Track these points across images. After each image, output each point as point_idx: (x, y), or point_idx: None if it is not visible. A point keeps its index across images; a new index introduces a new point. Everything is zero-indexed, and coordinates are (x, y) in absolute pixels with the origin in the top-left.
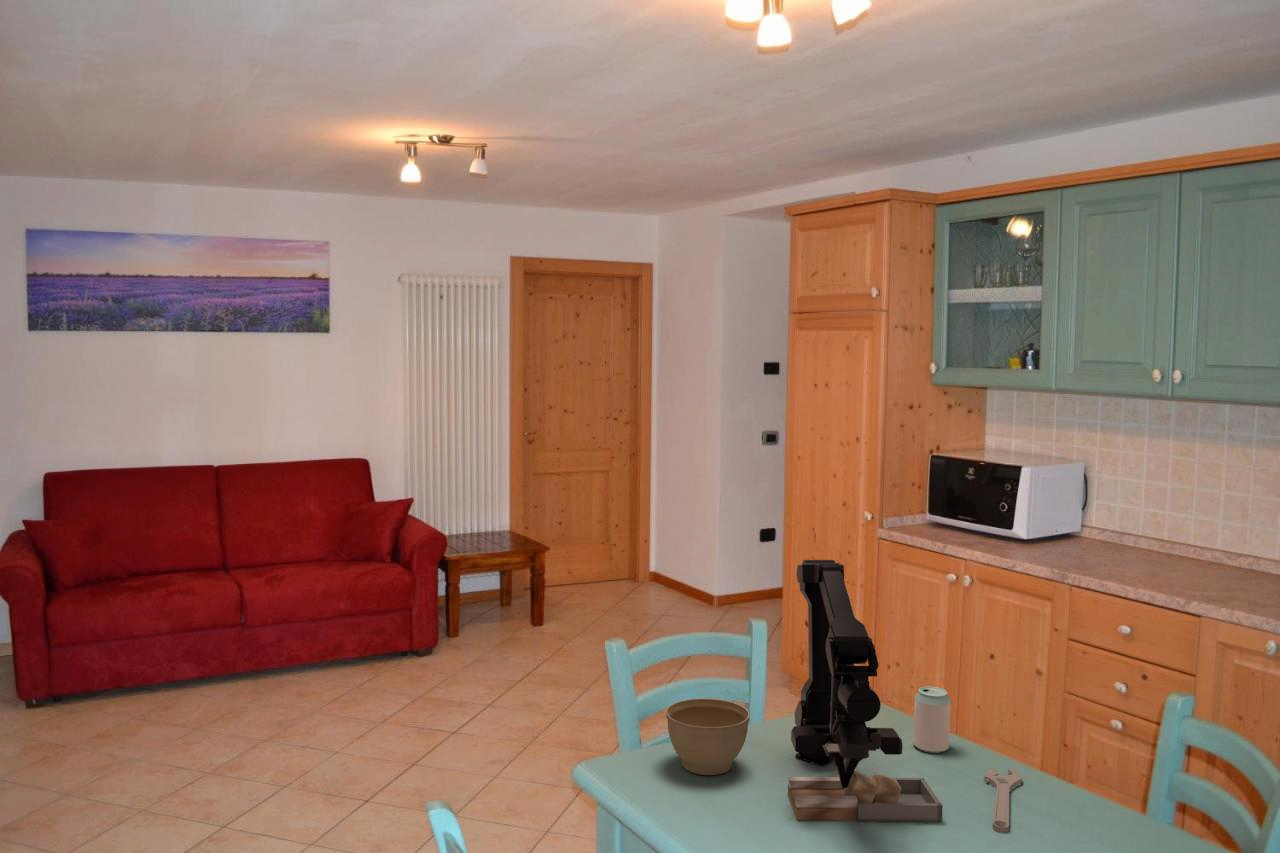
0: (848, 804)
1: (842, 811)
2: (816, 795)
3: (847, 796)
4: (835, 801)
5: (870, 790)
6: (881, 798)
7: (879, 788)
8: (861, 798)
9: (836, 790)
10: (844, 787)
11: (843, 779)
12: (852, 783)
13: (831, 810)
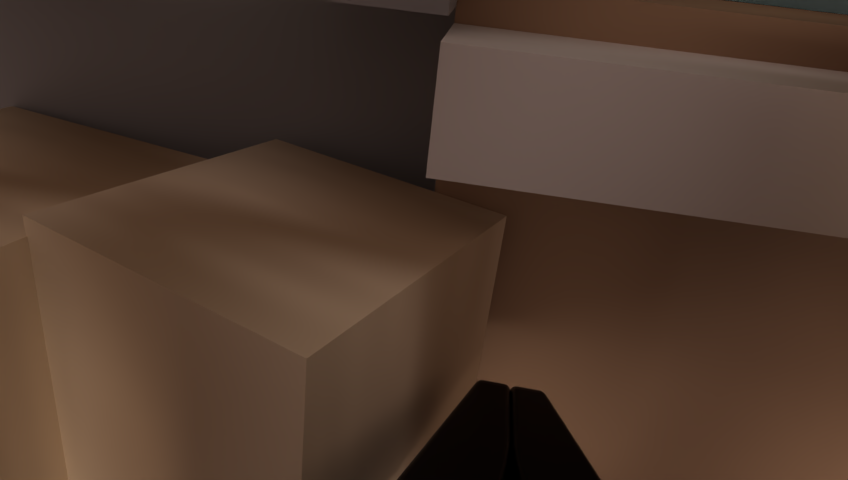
0: (585, 44)
1: (677, 3)
2: (833, 408)
3: (564, 167)
4: (805, 86)
5: (168, 222)
6: (80, 171)
7: (18, 226)
8: (334, 195)
9: None
10: (517, 388)
11: (549, 471)
12: (394, 406)
13: (842, 28)
